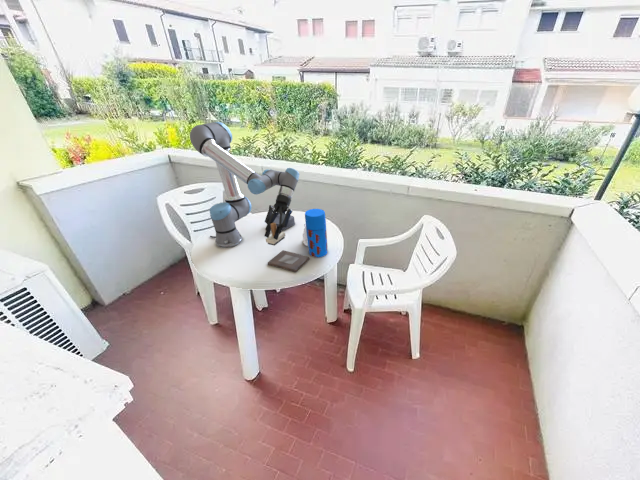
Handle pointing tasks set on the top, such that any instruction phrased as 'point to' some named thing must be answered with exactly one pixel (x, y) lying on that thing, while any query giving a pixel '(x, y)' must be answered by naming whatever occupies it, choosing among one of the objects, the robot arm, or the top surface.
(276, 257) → the walnut board
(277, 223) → the streaming box
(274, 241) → the scrub brush
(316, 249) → the thermos
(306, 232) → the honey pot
